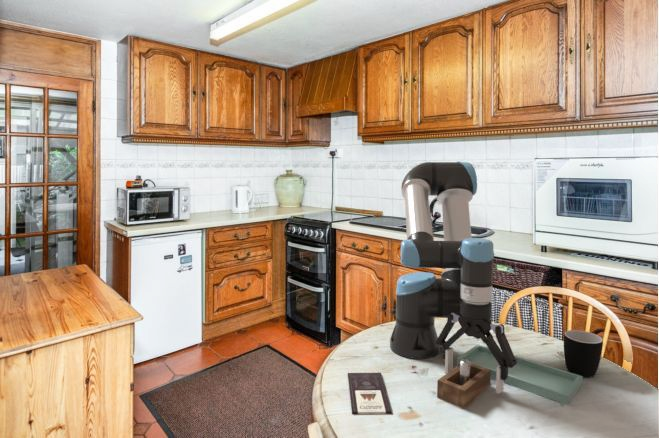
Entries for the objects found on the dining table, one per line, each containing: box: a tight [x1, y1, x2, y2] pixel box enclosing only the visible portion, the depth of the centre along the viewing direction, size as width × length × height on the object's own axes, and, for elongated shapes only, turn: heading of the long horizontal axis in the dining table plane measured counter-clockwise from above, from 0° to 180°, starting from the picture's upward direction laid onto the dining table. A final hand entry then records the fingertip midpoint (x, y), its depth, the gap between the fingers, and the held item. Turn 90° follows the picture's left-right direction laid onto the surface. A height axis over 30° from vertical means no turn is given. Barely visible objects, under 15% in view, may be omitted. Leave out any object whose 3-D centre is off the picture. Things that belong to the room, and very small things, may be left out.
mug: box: [563, 329, 604, 378], centre depth 112 cm, size 12×9×10 cm
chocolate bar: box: [347, 372, 393, 415], centre depth 102 cm, size 9×1×18 cm
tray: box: [456, 343, 584, 406], centre depth 110 cm, size 28×13×2 cm, turn 45°
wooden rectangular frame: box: [436, 363, 491, 410], centre depth 102 cm, size 7×16×4 cm, turn 135°
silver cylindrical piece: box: [459, 359, 470, 386], centre depth 101 cm, size 3×3×8 cm
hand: (472, 381), depth 104 cm, fingers open, 13 cm apart
